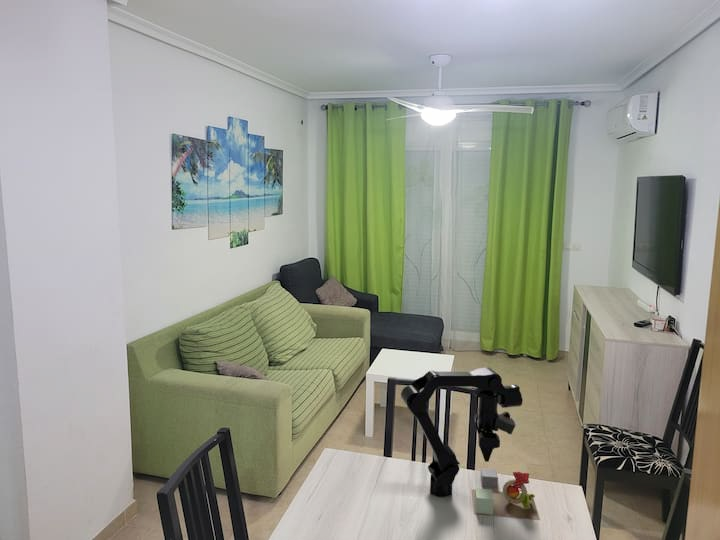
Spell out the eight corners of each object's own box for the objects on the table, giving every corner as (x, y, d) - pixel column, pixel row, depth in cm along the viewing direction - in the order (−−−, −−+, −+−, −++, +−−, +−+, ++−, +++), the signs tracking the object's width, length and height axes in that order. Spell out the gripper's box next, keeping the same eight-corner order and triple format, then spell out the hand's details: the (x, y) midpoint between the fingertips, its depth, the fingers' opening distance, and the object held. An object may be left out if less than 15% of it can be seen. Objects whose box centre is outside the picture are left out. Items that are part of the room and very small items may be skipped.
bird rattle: (508, 515, 166) (538, 510, 162) (495, 481, 166) (524, 475, 162) (510, 503, 172) (539, 499, 168) (497, 471, 171) (526, 465, 168)
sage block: (475, 513, 163) (476, 497, 162) (474, 503, 168) (475, 488, 167) (492, 514, 163) (493, 499, 162) (491, 504, 168) (492, 489, 167)
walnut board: (473, 518, 163) (474, 513, 163) (471, 493, 176) (471, 489, 176) (539, 524, 161) (540, 519, 161) (531, 498, 173) (532, 494, 173)
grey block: (481, 490, 178) (482, 476, 177) (480, 481, 183) (481, 468, 182) (497, 491, 177) (498, 477, 176) (495, 483, 182) (496, 469, 181)
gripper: (518, 423, 162) (515, 471, 165) (510, 397, 180) (507, 441, 183) (480, 420, 164) (477, 468, 166) (475, 395, 182) (473, 439, 185)
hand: (485, 453), depth 175 cm, fingers open, 9 cm apart
